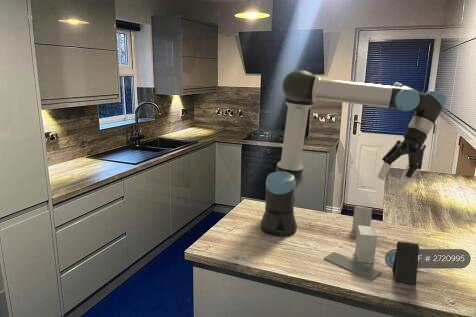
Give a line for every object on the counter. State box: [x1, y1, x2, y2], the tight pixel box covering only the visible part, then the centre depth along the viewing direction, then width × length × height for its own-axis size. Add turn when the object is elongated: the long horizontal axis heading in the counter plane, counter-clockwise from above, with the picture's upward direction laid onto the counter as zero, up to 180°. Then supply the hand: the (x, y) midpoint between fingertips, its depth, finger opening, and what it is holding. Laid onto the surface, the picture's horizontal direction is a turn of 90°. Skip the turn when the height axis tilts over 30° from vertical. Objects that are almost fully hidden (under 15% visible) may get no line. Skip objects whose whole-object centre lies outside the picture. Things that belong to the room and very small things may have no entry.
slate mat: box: [323, 251, 382, 282], centre depth 123 cm, size 18×6×1 cm, turn 43°
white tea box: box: [351, 205, 373, 232], centre depth 149 cm, size 4×7×10 cm, turn 64°
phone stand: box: [391, 241, 420, 287], centre depth 115 cm, size 9×6×12 cm, turn 163°
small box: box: [354, 225, 378, 264], centre depth 127 cm, size 8×6×10 cm
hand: (390, 181), depth 133 cm, fingers open, 13 cm apart
